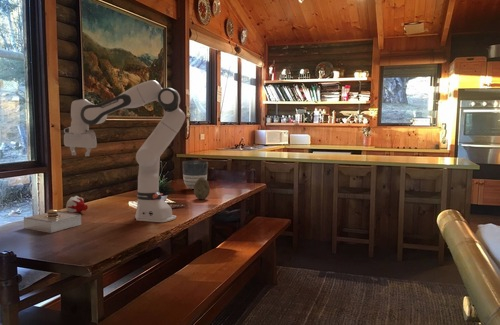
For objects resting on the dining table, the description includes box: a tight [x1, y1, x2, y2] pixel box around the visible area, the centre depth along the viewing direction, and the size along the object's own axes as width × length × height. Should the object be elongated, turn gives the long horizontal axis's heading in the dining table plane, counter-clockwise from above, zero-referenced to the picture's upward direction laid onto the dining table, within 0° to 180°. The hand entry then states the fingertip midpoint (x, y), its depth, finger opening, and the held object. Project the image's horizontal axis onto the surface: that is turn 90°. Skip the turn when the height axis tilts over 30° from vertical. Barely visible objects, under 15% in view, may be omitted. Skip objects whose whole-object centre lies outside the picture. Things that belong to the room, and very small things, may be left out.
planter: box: [182, 160, 209, 190], centre depth 325 cm, size 20×20×21 cm
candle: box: [65, 195, 88, 214], centre depth 236 cm, size 9×11×15 cm
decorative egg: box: [193, 177, 211, 200], centre depth 284 cm, size 11×11×15 cm
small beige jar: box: [47, 208, 59, 218], centre depth 205 cm, size 5×5×8 cm
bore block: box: [23, 210, 82, 234], centre depth 205 cm, size 18×18×5 cm
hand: (80, 155), depth 224 cm, fingers open, 8 cm apart
